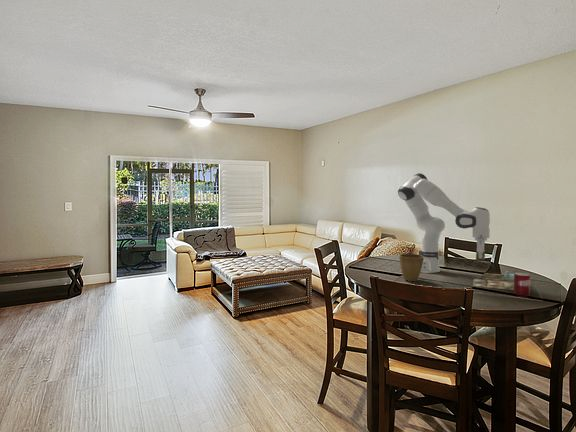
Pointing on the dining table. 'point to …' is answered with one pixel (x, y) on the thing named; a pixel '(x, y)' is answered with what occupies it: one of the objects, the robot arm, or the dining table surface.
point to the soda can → (522, 284)
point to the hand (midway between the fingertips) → (480, 257)
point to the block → (478, 256)
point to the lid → (509, 276)
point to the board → (494, 282)
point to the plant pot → (411, 266)
